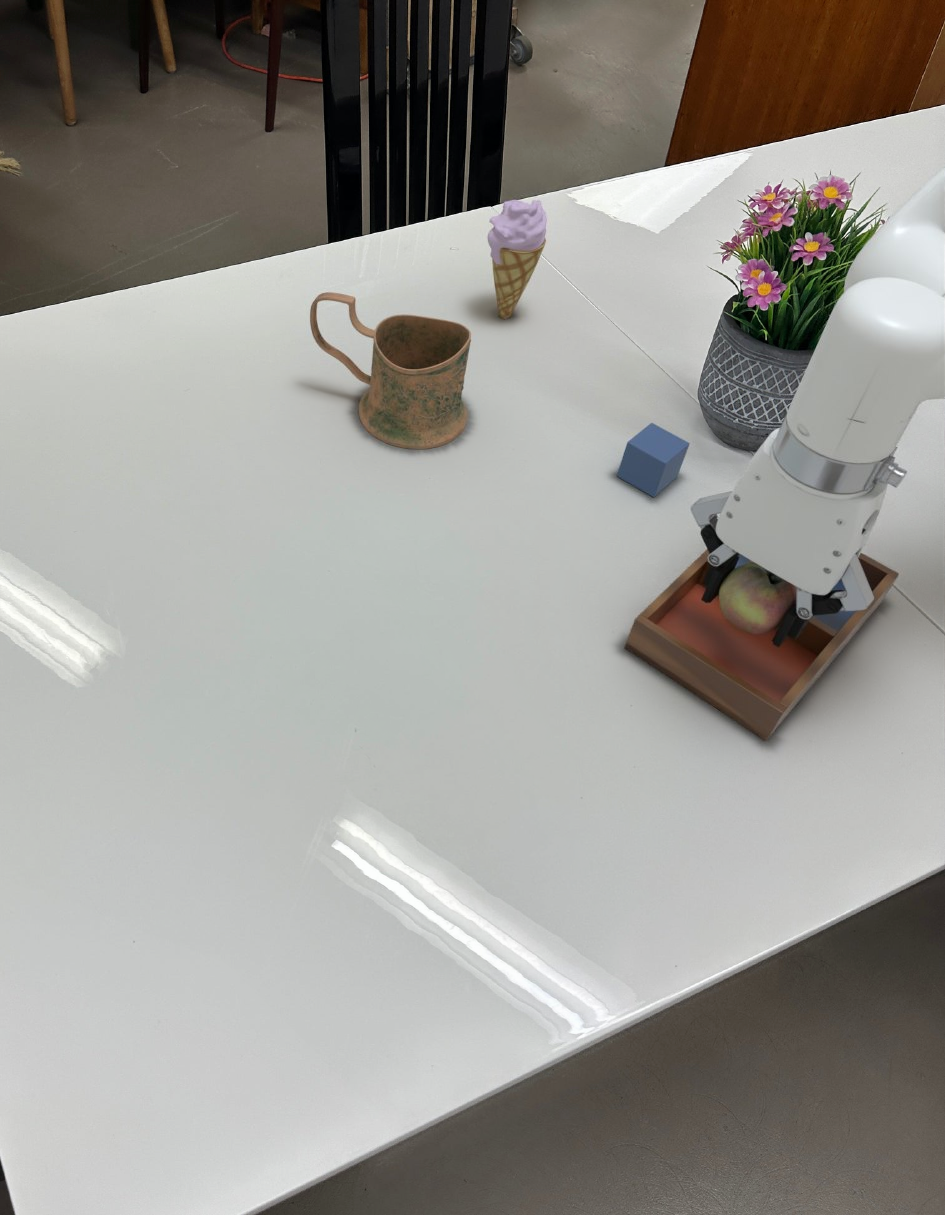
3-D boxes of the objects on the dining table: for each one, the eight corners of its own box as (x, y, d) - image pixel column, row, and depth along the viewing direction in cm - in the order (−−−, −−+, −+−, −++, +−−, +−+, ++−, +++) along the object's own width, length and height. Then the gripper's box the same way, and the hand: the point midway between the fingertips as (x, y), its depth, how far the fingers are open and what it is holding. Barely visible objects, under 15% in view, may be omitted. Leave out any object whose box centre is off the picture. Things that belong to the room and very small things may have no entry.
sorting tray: (747, 526, 106) (760, 496, 104) (881, 602, 100) (899, 573, 98) (623, 647, 95) (634, 618, 92) (766, 741, 89) (783, 713, 86)
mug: (328, 357, 122) (332, 261, 113) (479, 396, 118) (496, 300, 109) (289, 417, 114) (290, 319, 105) (449, 460, 111) (464, 363, 102)
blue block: (640, 456, 113) (651, 422, 109) (677, 477, 111) (690, 443, 108) (616, 476, 111) (627, 441, 107) (653, 498, 109) (666, 463, 105)
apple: (701, 644, 90) (723, 597, 85) (716, 580, 95) (738, 532, 90) (774, 668, 89) (801, 621, 84) (786, 601, 94) (811, 554, 89)
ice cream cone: (502, 338, 126) (524, 217, 115) (463, 313, 129) (481, 194, 118) (539, 317, 129) (565, 198, 118) (501, 294, 132) (522, 176, 121)
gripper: (968, 483, 76) (863, 647, 89) (749, 374, 83) (682, 540, 97) (924, 536, 72) (821, 698, 86) (698, 417, 79) (636, 583, 93)
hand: (748, 613), depth 91 cm, fingers closed on apple, 6 cm apart
